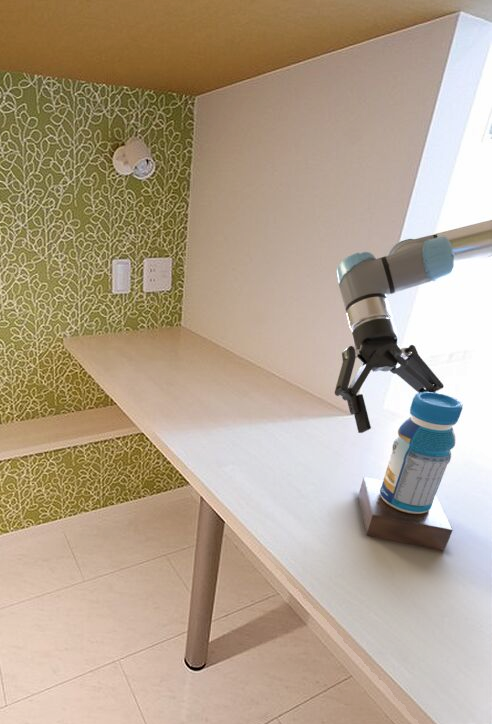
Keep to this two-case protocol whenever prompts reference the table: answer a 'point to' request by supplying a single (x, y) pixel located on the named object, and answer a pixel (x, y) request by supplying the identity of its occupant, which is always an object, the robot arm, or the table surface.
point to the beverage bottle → (421, 453)
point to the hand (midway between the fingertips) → (400, 429)
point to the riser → (402, 520)
